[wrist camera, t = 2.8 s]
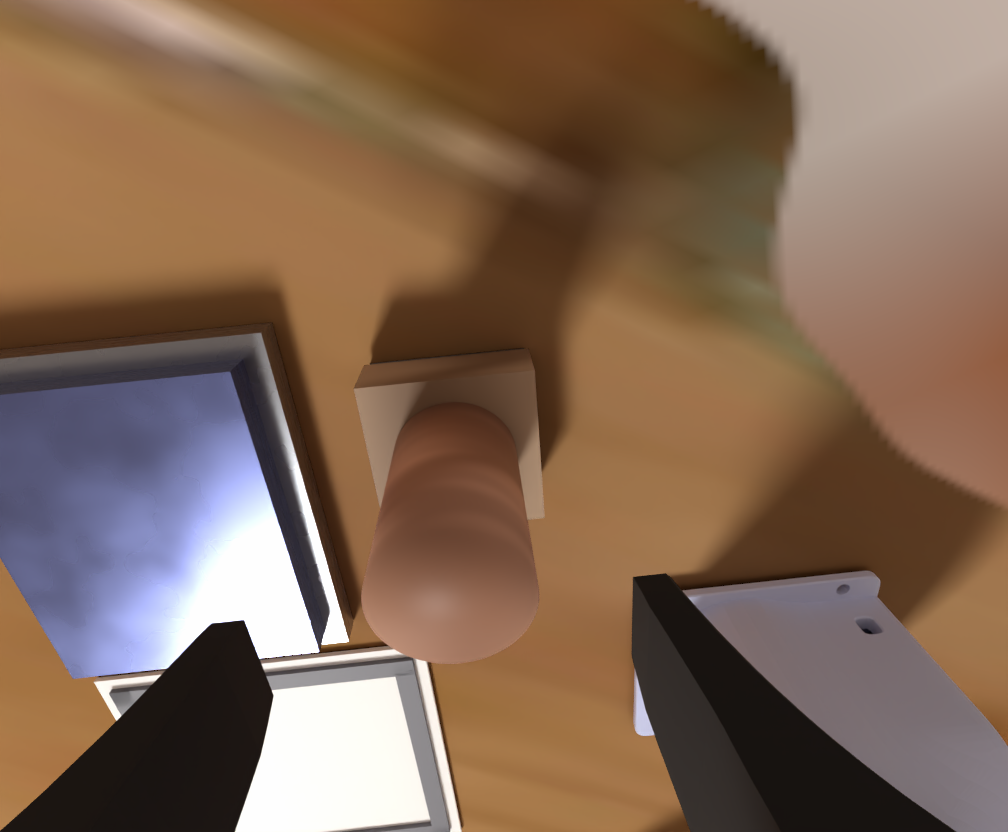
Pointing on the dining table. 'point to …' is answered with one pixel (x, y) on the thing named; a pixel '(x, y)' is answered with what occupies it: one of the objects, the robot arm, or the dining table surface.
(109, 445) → the ink pad
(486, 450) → the stamp
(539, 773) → the dining table surface
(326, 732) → the marked square
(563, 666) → the dining table surface
